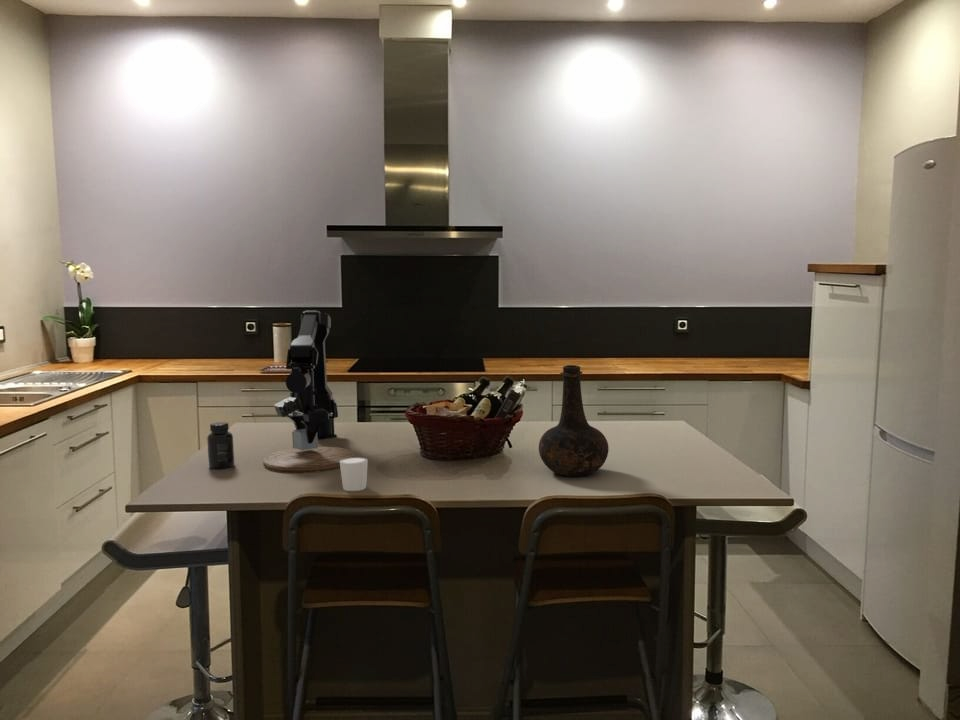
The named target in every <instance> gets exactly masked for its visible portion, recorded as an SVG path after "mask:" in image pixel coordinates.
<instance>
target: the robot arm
mask: <svg viewBox="0 0 960 720" xmlns="http://www.w3.org/2000/svg"><path fill="white" fill-rule="evenodd" d="M331 326H332V319H331V316H330V314H328V313H326V312H325V313H324V312H321V311H318V310H304V311H302V314H301V315H300V329H299V332H298V335H297V337H296V338H294V339H293V340H292V341H291V343H290V346H289V347H288V348H287V355H286V365H285V369H286V370H291V373H289V375H287V377H286V378H285V379H286V380H285V386H286V388H287V389H288V390H289V391H290V393H289V397H287V398H284V399H282V400H280V401H279V402H276V403H275V404H273V406H274V407H273V408H274V409H275V412H276V414H277V416H281V417H282V418H286V417H287V419H289V420H290V421H292V422H293V425H294V428H295V430H299V429H306V433H307V439H308V443H312V442H313V440H314V438H315V436H316V433H317V439H318V440H321V439H327V438H333V436H334V437H337V436H338V435H337V434H336V433H335V419H336V418H339V410H338V404H337V403H336V399H334V395H333V392H332V390H331V388H330V387H329V386H328V377H327V357H326V339H327V337H328V335H329V333H330V329H331V328H332V327H331Z"/></svg>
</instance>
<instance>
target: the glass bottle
mask: <svg viewBox="0 0 960 720" xmlns="http://www.w3.org/2000/svg"><path fill="white" fill-rule="evenodd" d="M582 374H583V372H582V371H581V366H580V365H575V364H573V365H572V364H568V365H563V367H562V372H560V373H559V375H560V376H561V377H562V399H561V401H562V402H561V413H560V418H559V422H558V424H557V425H555V426H553V427H551V428H549V429H547V430H546V431H545V432H544V433H543V434H542V436H541V437H540V440H539V442H538V454H539V457H540V459H541V461H542V462H543V464H544V466H546V467H547V469H549V470H550V471H551V472H553V473H555V474H557V475H560V476H565V477H583V476H589V475H592V474H594V473H595V472H597V471H599V470H600V469H601V468H602V467H603V465H604V464H605V462H606V460H607V458H608V456H609V450H610V449H609V442H608V440H607V438H606V436H605V435H604V434H603V433H602V432H601V431H600V430H599V429H598V428H595V427H594V426H591V425H590V424H589V423H588V420H587V417H586V414H585V410H584V404H583V398H582V397H583V396H582V388H581V387H582V384H581V375H582Z"/></svg>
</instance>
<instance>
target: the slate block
mask: <svg viewBox="0 0 960 720" xmlns="http://www.w3.org/2000/svg"><path fill="white" fill-rule="evenodd" d="M292 431H293V435H294V448H297V449H299V450H307V449H313V448H318V447H319V444H318V443H319V442H318V440H319V439H318V438H317V433H316V436H315V438H314V440H313V442H312V443H308V439H307V433H306V429H299V430H296V429H293V430H292Z"/></svg>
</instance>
